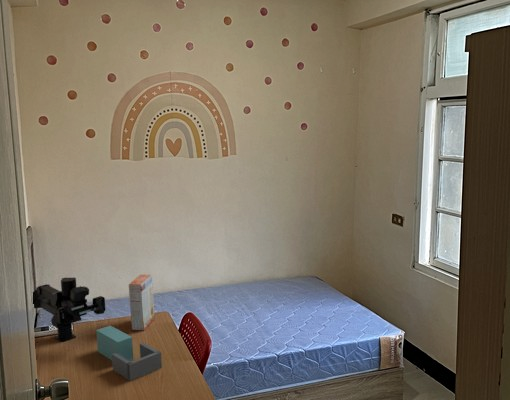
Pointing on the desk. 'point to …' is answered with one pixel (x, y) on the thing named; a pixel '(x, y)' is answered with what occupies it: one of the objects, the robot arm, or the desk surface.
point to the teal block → (114, 343)
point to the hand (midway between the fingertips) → (92, 315)
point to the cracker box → (141, 302)
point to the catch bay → (138, 363)
